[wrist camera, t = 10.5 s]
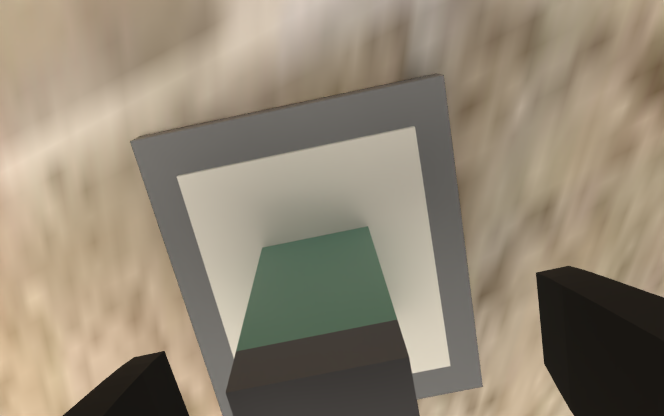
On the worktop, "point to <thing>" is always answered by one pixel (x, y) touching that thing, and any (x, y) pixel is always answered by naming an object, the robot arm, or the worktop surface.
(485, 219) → the worktop surface
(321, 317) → the green and grey block
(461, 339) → the grey picture frame
